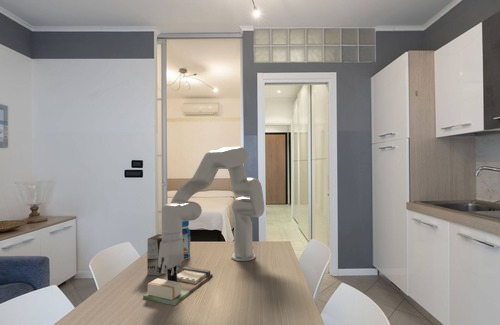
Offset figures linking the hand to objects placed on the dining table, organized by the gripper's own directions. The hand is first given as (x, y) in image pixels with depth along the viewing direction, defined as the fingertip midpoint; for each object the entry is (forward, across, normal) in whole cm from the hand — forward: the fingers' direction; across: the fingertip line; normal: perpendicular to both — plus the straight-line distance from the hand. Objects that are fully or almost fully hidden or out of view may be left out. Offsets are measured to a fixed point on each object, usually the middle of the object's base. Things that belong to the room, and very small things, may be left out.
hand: (172, 284), depth 101 cm
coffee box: (+3, -14, -19) cm, 24 cm away
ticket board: (+3, -5, 0) cm, 6 cm away
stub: (+2, +5, 0) cm, 5 cm away
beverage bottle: (+3, -33, -20) cm, 39 cm away
